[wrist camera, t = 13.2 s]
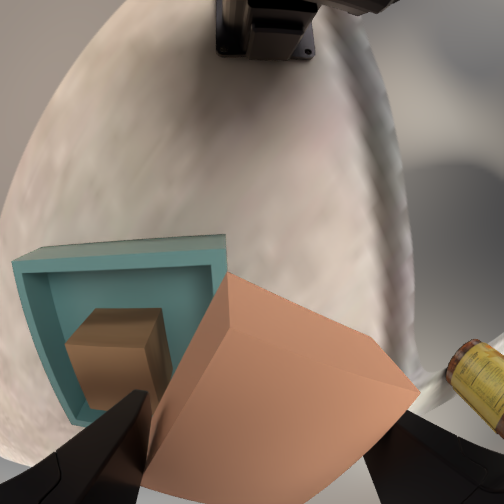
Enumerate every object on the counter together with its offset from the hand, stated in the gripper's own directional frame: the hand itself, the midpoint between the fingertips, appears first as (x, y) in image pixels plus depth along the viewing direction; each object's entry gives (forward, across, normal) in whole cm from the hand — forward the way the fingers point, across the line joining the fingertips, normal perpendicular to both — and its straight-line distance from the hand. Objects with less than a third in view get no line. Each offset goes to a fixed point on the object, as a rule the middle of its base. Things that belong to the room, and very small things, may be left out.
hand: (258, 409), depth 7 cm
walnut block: (+11, +7, +5) cm, 14 cm away
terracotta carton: (+1, 0, 0) cm, 1 cm away
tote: (+12, +7, +5) cm, 15 cm away
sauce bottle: (+13, -26, +9) cm, 30 cm away
